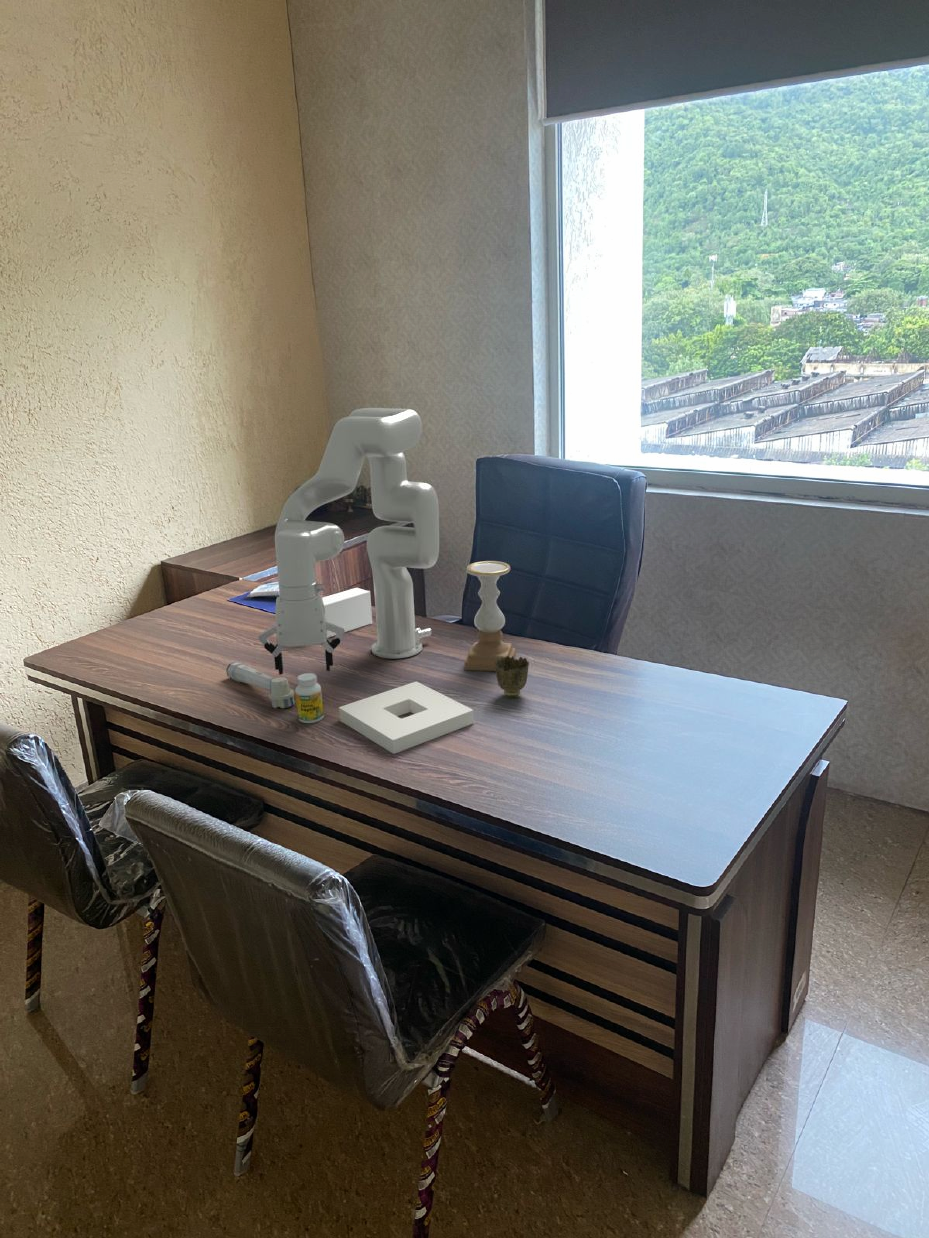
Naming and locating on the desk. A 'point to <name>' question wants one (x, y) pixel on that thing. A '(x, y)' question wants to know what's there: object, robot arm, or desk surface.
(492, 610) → the candle holder
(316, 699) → the supplement bottle
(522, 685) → the cup
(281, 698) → the toothbrush head
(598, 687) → the desk surface
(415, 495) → the robot arm
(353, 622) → the white box
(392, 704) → the hole board
